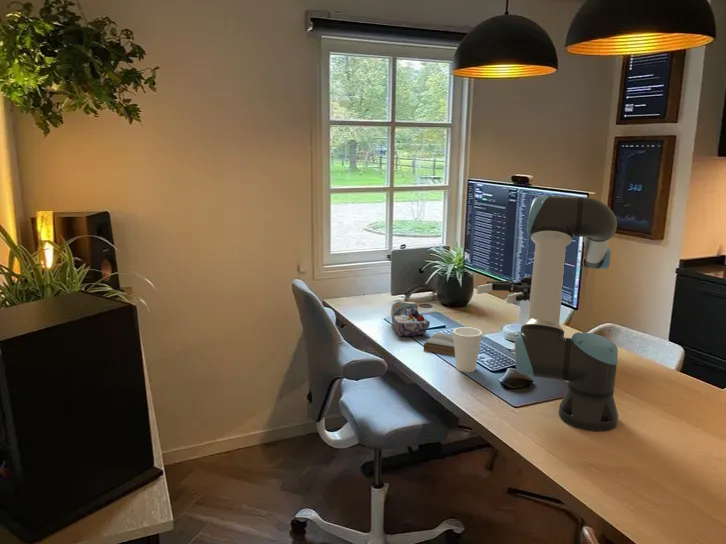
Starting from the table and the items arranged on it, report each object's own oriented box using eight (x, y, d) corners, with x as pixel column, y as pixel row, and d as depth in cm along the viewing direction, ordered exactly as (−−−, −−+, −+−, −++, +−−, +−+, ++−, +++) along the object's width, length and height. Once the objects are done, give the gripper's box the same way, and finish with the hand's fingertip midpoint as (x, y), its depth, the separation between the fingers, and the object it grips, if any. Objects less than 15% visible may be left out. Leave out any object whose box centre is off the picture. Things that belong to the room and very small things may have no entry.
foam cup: (479, 375, 187) (481, 337, 184) (451, 372, 188) (452, 335, 185) (480, 364, 196) (481, 328, 193) (452, 362, 197) (454, 326, 194)
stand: (458, 356, 203) (458, 348, 202) (423, 350, 208) (423, 342, 208) (468, 344, 214) (469, 337, 213) (435, 339, 220) (435, 331, 219)
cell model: (413, 296, 238) (433, 311, 220) (412, 321, 241) (431, 338, 222) (384, 299, 234) (401, 314, 216) (383, 324, 237) (400, 341, 219)
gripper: (563, 304, 195) (520, 314, 183) (507, 288, 215) (465, 296, 203) (565, 282, 193) (522, 292, 182) (508, 268, 213) (466, 276, 202)
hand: (492, 294), depth 192 cm, fingers open, 13 cm apart
